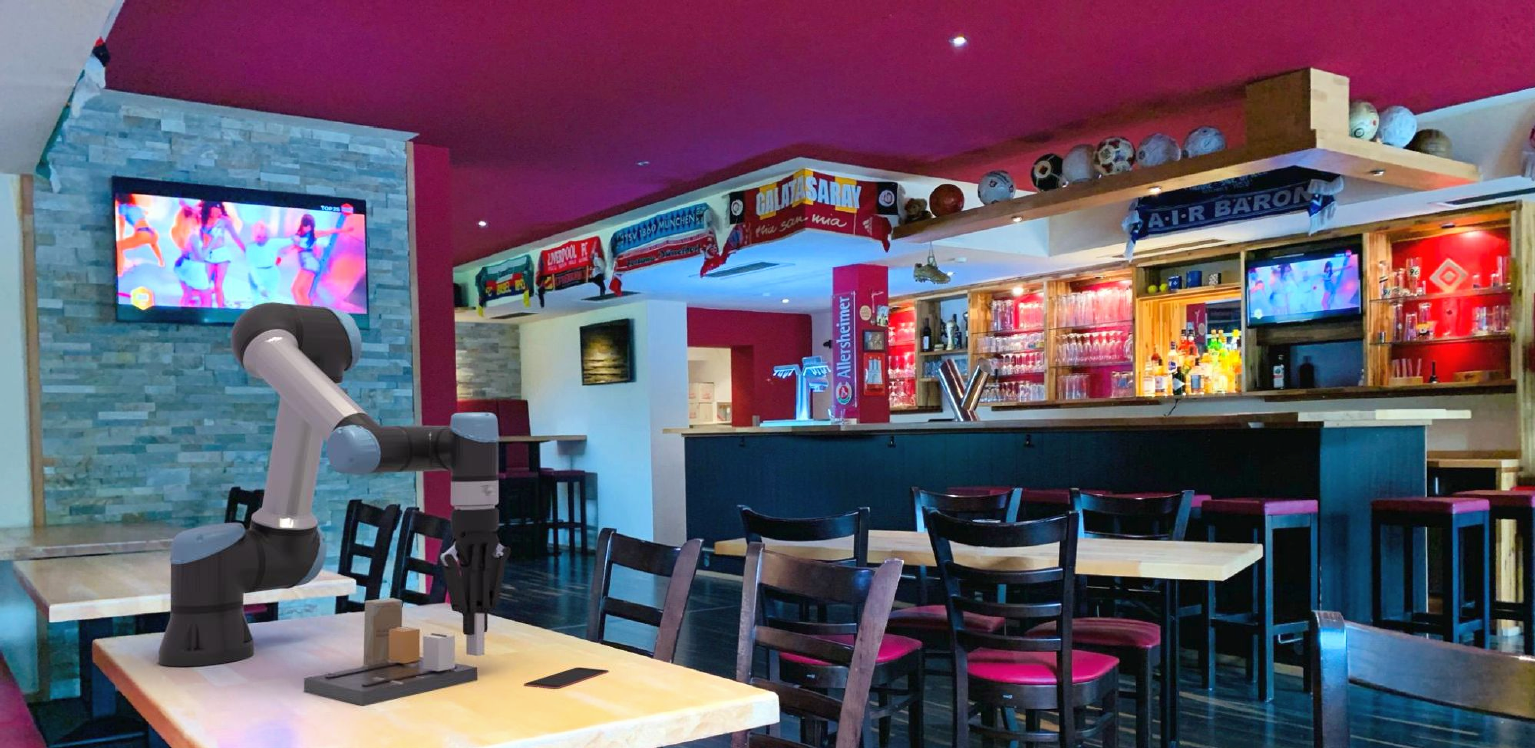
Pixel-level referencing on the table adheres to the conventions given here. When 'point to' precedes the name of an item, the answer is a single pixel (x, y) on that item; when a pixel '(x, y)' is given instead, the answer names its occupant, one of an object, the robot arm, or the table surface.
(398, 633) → the fader orange
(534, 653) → the table surface
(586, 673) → the smartphone
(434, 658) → the fader grey
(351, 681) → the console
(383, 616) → the box
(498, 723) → the table surface
